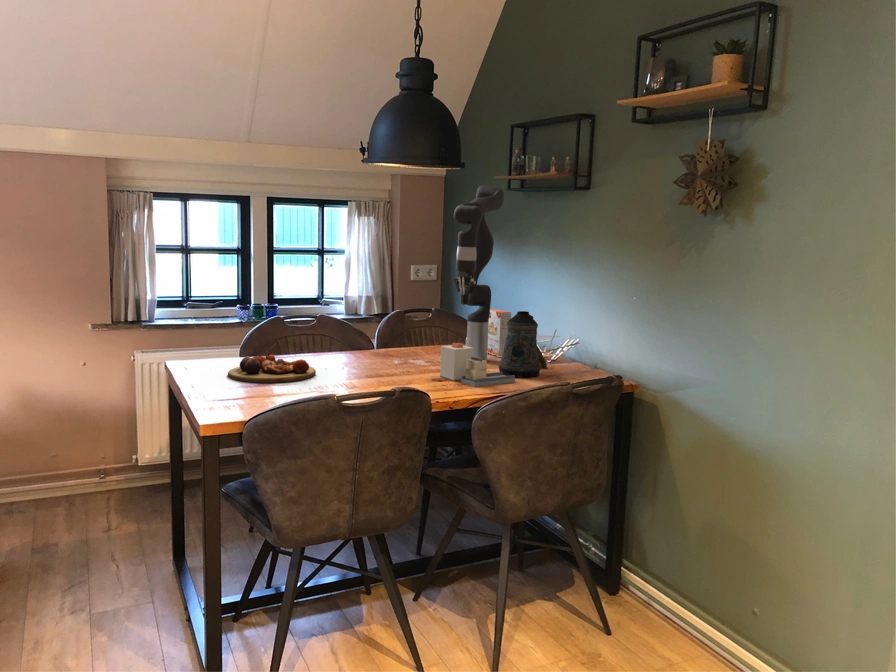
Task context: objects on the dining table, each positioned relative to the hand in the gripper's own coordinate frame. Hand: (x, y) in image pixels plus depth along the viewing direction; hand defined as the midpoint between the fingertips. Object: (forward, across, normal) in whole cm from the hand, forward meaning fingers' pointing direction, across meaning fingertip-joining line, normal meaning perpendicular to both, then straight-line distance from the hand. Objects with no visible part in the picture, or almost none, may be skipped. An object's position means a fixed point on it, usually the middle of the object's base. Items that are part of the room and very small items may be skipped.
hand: (464, 304), depth 269 cm
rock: (+29, +3, -39) cm, 49 cm away
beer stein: (+28, -7, -24) cm, 37 cm away
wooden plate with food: (+29, +31, +65) cm, 77 cm away
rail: (+28, -15, -2) cm, 32 cm away
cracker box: (+30, +33, -42) cm, 61 cm away
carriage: (+26, -16, +4) cm, 30 cm away
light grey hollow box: (+28, -4, +5) cm, 28 cm away
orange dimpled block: (+24, -3, +5) cm, 24 cm away
